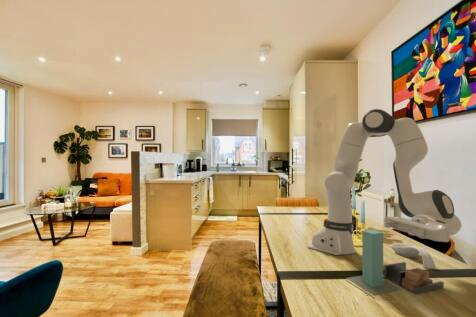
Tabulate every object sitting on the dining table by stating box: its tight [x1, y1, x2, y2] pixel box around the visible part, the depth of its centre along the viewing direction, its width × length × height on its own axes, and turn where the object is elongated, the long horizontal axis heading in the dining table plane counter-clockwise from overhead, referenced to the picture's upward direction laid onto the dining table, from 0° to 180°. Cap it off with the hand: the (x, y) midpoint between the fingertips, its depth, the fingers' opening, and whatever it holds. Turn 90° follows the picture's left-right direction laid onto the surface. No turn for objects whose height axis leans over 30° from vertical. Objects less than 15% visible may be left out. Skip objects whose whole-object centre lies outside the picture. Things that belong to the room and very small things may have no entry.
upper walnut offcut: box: [405, 267, 430, 284], centre depth 82 cm, size 7×4×2 cm, turn 114°
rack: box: [383, 261, 445, 295], centre depth 86 cm, size 13×14×5 cm
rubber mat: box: [345, 274, 403, 300], centre depth 84 cm, size 12×12×1 cm
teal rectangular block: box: [362, 229, 384, 287], centre depth 84 cm, size 5×4×18 cm
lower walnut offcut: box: [402, 278, 434, 291], centre depth 82 cm, size 9×4×2 cm, turn 108°
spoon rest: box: [390, 243, 437, 270], centre depth 108 cm, size 24×12×7 cm, turn 173°
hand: (397, 228), depth 88 cm, fingers open, 8 cm apart
